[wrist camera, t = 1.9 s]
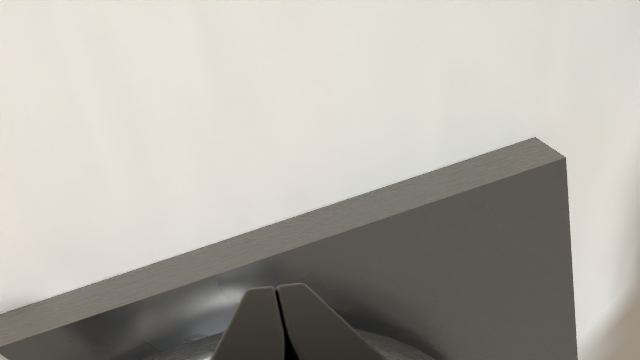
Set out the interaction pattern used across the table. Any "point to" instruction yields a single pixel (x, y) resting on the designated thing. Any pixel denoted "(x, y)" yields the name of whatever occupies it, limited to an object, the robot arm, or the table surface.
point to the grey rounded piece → (197, 353)
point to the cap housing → (358, 272)
